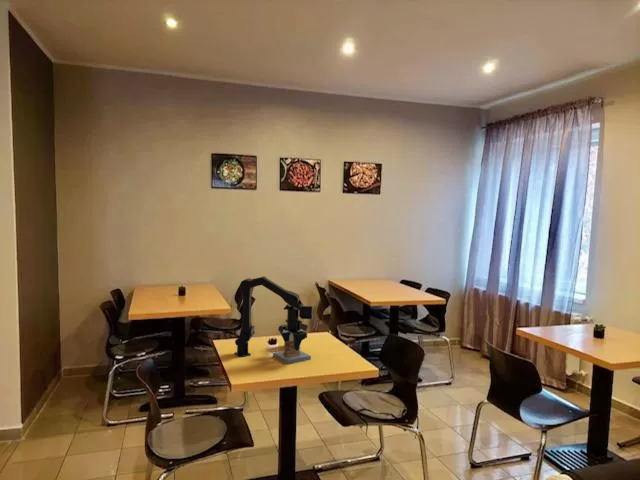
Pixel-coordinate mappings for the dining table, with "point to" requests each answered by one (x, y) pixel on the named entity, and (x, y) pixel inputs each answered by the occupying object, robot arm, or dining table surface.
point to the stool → (290, 349)
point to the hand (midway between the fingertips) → (292, 348)
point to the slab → (291, 360)
